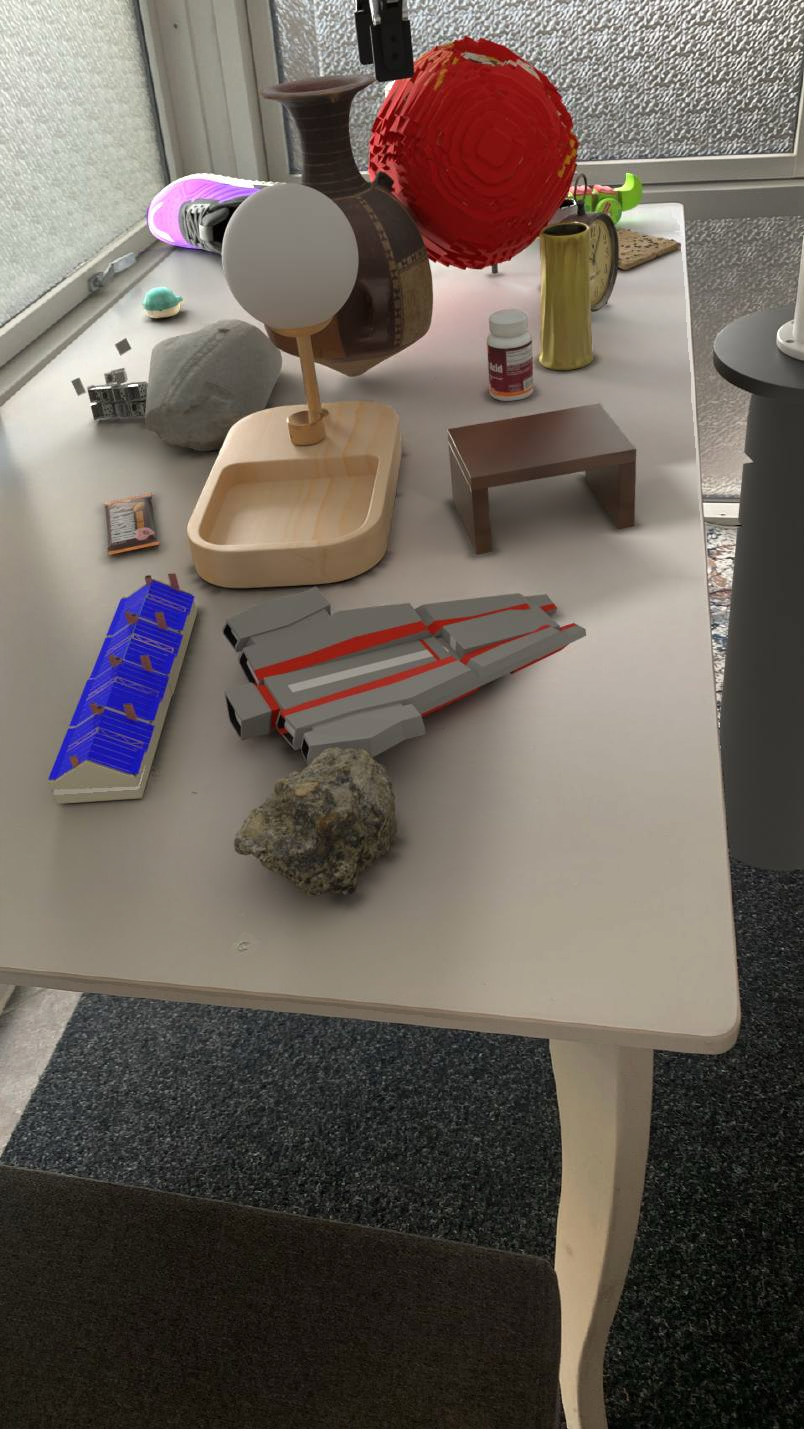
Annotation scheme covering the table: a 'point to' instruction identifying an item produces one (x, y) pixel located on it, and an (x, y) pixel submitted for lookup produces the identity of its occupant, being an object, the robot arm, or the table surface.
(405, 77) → the robot arm
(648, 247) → the cookie
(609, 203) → the toy crocodile
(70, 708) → the table surface
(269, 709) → the toy spaceship
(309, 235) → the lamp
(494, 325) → the pill bottle
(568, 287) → the vase
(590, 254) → the alarm clock
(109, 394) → the house of cards
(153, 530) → the chocolate bar
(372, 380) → the table surface
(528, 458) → the shelf
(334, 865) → the rock
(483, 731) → the table surface
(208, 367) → the stone
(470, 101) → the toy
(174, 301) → the whale figurine
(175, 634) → the building
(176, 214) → the running shoe
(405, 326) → the vase
